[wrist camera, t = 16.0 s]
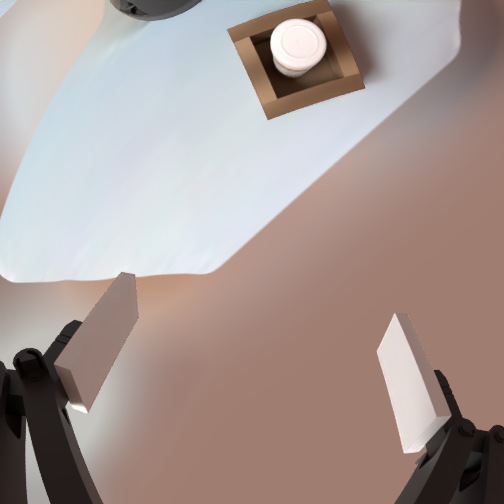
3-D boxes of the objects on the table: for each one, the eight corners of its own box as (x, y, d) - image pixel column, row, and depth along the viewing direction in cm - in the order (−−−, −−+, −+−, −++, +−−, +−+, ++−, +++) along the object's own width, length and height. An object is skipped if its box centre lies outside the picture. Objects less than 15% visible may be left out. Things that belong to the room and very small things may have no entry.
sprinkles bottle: (313, 49, 32) (331, 24, 20) (306, 83, 34) (322, 73, 22) (275, 41, 32) (275, 12, 20) (269, 76, 34) (265, 62, 22)
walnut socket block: (235, 41, 33) (226, 29, 27) (317, 13, 31) (325, -3, 24) (269, 117, 38) (267, 120, 31) (351, 90, 35) (365, 88, 29)
